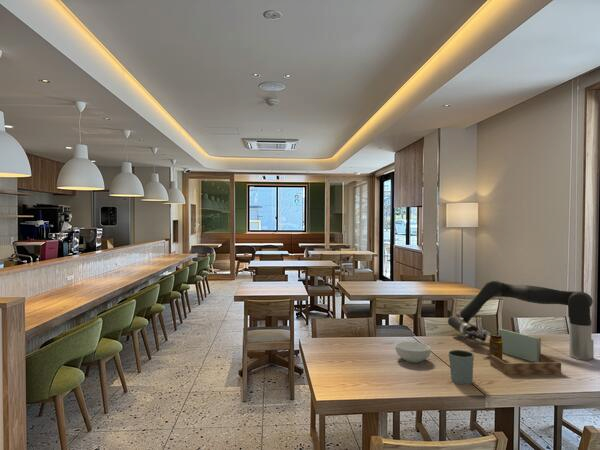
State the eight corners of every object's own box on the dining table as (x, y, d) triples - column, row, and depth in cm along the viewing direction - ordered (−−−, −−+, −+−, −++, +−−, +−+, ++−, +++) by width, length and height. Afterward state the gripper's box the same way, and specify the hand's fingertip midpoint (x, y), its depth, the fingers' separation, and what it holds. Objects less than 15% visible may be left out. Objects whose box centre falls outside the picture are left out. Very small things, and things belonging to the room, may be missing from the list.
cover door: (541, 363, 195) (541, 337, 195) (539, 364, 195) (539, 338, 195) (499, 351, 215) (499, 327, 215) (498, 351, 215) (498, 327, 215)
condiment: (506, 359, 202) (506, 335, 202) (496, 362, 198) (496, 338, 198) (492, 355, 208) (492, 332, 208) (483, 358, 204) (482, 334, 204)
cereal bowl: (436, 359, 201) (436, 345, 201) (421, 368, 189) (421, 353, 189) (405, 352, 213) (405, 339, 213) (389, 360, 201) (389, 346, 201)
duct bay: (542, 364, 195) (542, 353, 195) (561, 373, 182) (561, 362, 182) (490, 365, 194) (490, 354, 194) (505, 374, 181) (505, 363, 181)
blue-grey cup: (477, 385, 168) (477, 357, 169) (453, 385, 169) (453, 356, 169) (468, 376, 179) (468, 349, 179) (445, 376, 179) (445, 349, 179)
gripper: (457, 324, 230) (472, 332, 213) (480, 323, 231) (496, 332, 213) (457, 337, 230) (471, 346, 213) (480, 336, 231) (496, 346, 213)
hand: (484, 339), depth 213 cm, fingers closed
